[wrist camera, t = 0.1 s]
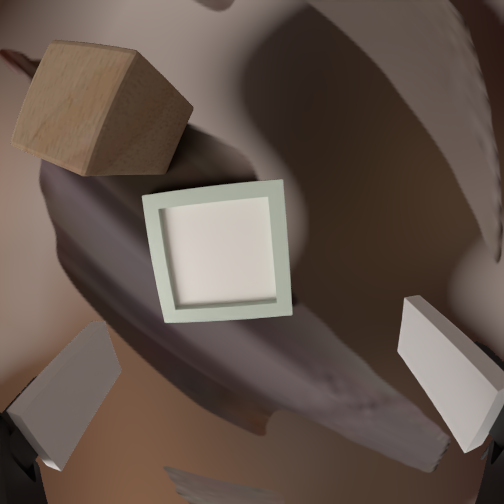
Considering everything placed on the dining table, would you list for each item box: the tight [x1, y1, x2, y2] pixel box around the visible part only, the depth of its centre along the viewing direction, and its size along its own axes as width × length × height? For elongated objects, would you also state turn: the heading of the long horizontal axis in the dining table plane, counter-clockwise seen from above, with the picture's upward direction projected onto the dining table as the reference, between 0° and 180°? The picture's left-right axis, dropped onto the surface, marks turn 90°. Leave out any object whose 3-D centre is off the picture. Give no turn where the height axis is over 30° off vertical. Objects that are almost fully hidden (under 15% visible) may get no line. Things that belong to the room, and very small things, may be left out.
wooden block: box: [11, 40, 193, 176], centre depth 26 cm, size 10×10×20 cm
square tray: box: [142, 179, 292, 323], centre depth 39 cm, size 18×18×2 cm
